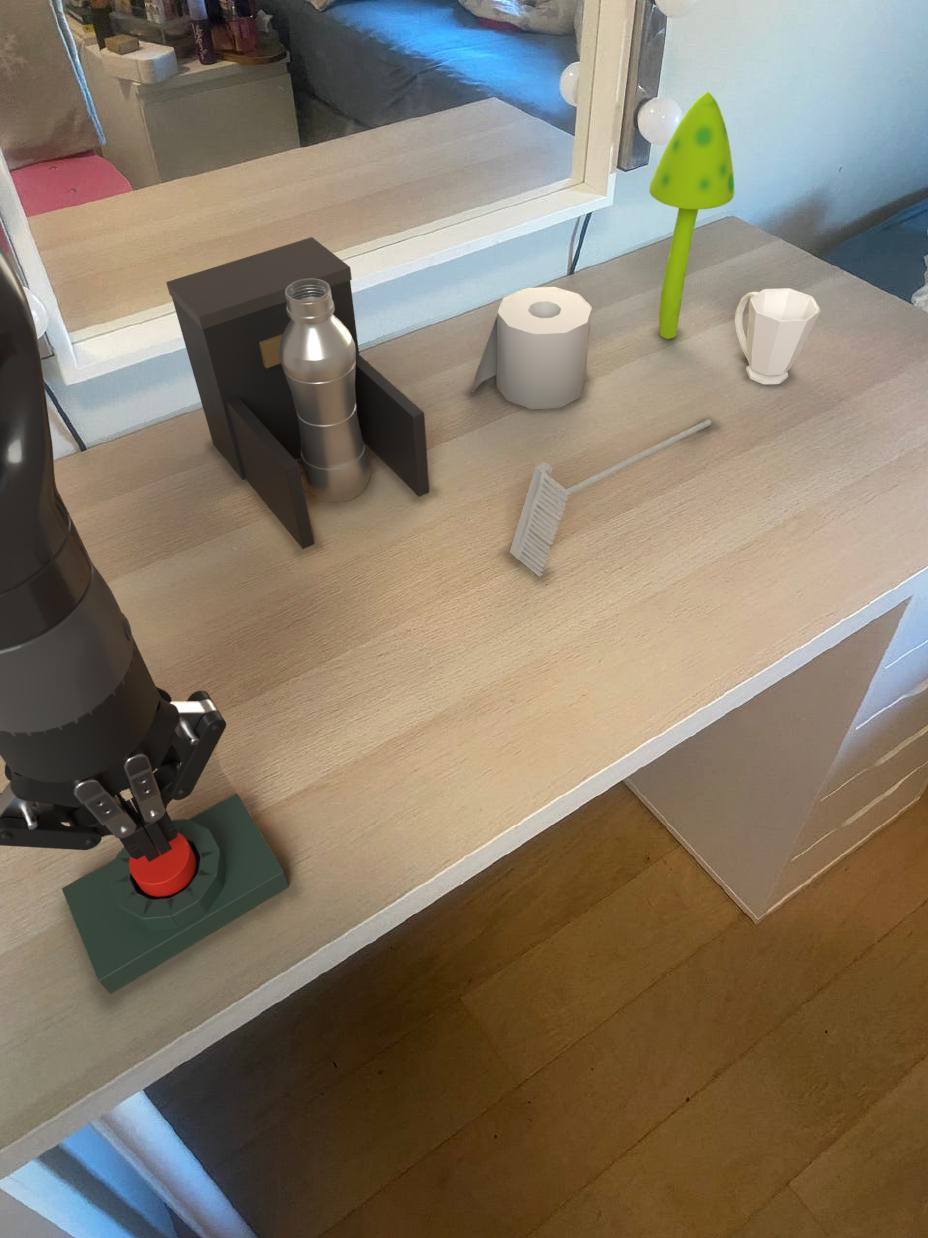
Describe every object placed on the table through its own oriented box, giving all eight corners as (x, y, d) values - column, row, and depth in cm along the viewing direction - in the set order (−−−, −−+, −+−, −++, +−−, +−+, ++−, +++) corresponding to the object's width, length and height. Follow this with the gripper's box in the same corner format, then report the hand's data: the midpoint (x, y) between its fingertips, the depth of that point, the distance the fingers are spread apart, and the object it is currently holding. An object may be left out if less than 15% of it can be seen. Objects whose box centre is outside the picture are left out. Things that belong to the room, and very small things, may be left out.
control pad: (110, 995, 54) (88, 970, 51) (73, 903, 58) (50, 875, 55) (289, 887, 58) (278, 858, 55) (243, 809, 62) (231, 778, 59)
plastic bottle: (303, 514, 82) (263, 314, 67) (306, 468, 87) (269, 271, 72) (373, 509, 83) (348, 309, 68) (372, 463, 87) (349, 266, 72)
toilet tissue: (452, 395, 95) (449, 321, 88) (544, 350, 100) (548, 277, 94) (508, 434, 90) (510, 359, 83) (602, 385, 95) (610, 310, 89)
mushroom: (713, 323, 103) (762, 82, 85) (694, 360, 98) (742, 112, 80) (643, 309, 106) (676, 71, 87) (620, 344, 101) (651, 100, 82)
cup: (759, 398, 93) (778, 328, 87) (704, 351, 99) (718, 282, 93) (814, 382, 95) (836, 311, 89) (757, 336, 101) (774, 268, 95)
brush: (716, 478, 92) (754, 400, 85) (539, 578, 76) (568, 492, 70) (688, 458, 94) (723, 380, 87) (508, 552, 78) (534, 466, 71)
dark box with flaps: (433, 490, 84) (423, 324, 71) (298, 551, 79) (262, 383, 66) (335, 396, 95) (312, 236, 82) (211, 443, 90) (165, 281, 77)
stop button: (149, 908, 53) (141, 895, 52) (128, 862, 55) (120, 849, 54) (205, 876, 55) (198, 863, 53) (183, 833, 57) (175, 819, 55)
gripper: (155, 551, 44) (231, 747, 57) (-128, 672, 40) (24, 856, 53) (217, 645, 40) (284, 833, 53) (-92, 793, 35) (64, 960, 48)
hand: (154, 844), depth 53 cm, fingers closed
